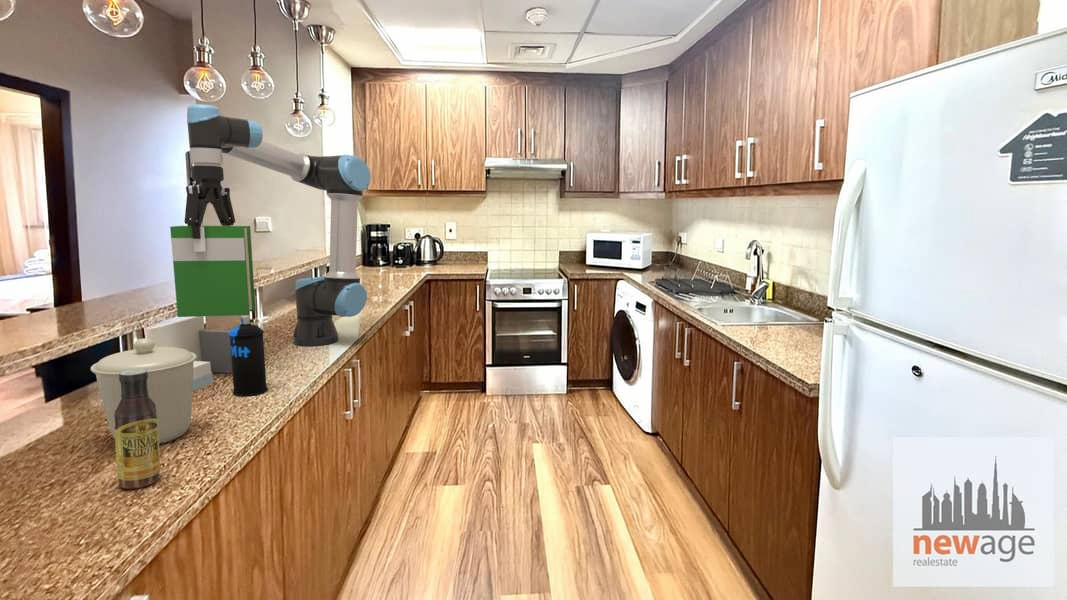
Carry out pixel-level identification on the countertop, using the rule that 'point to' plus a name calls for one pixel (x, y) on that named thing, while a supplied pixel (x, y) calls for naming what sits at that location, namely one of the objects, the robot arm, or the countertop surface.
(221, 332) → the bookend
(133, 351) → the canister
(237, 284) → the hardback book
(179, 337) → the shelf back board
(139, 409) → the sauce bottle
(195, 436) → the countertop surface
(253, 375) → the aerosol can
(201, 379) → the book stack block
